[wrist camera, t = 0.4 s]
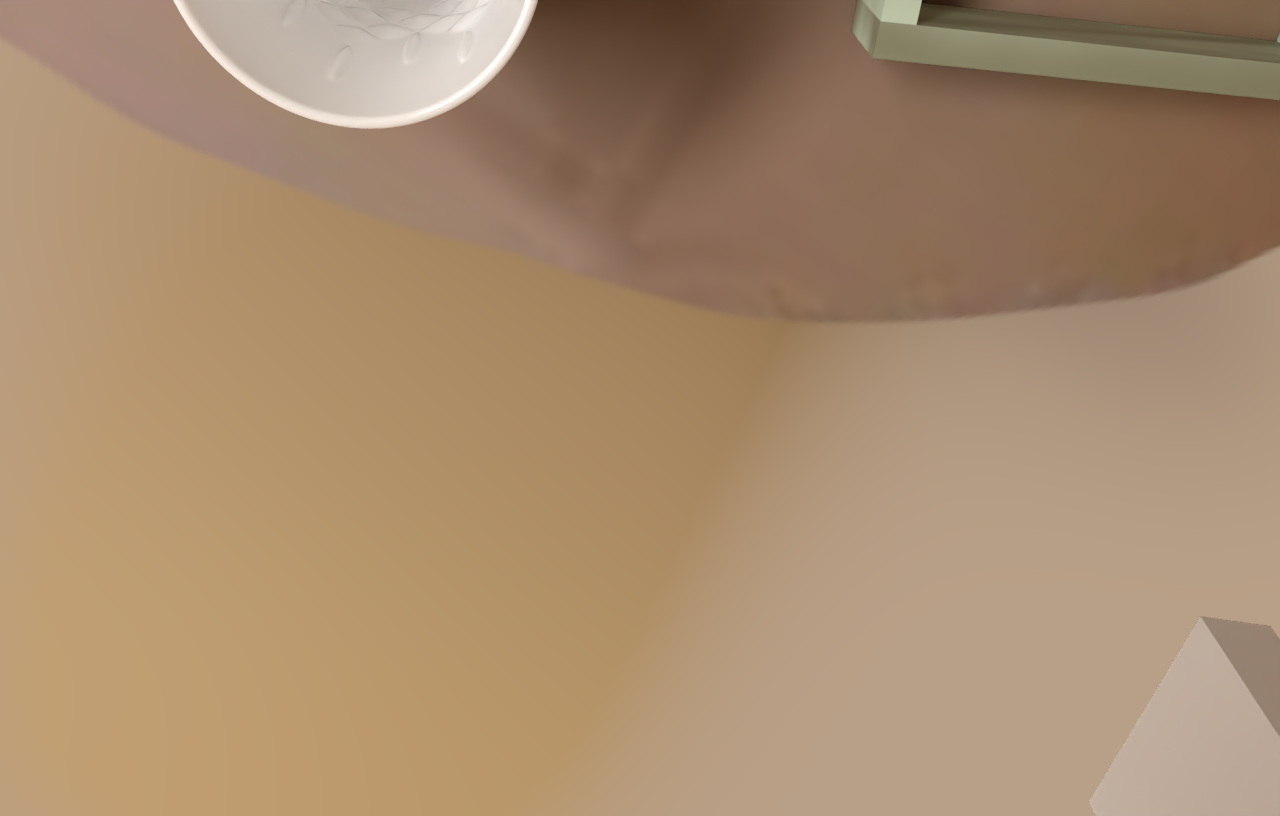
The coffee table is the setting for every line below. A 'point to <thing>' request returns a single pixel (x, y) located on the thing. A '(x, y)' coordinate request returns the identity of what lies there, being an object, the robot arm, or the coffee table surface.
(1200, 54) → the channel
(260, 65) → the white cup
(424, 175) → the coffee table surface
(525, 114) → the coffee table surface
